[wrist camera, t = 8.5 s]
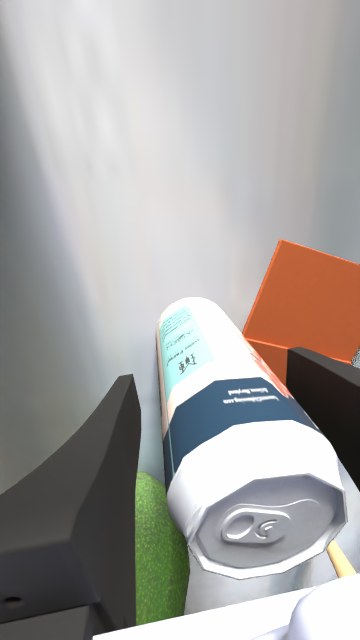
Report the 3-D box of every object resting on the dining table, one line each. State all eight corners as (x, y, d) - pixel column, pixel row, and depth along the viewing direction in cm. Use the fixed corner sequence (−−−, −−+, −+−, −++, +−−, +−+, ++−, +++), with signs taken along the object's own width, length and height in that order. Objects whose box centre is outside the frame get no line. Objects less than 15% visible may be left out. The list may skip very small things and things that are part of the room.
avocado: (73, 505, 22) (-3, 797, 11) (106, 439, 20) (53, 721, 9) (158, 521, 24) (167, 780, 13) (196, 463, 22) (247, 715, 11)
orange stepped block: (394, 276, 17) (404, 278, 17) (310, 423, 22) (315, 430, 21) (279, 239, 16) (285, 239, 15) (211, 408, 20) (213, 414, 19)
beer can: (211, 366, 18) (307, 590, 7) (147, 352, 17) (145, 587, 6) (236, 305, 17) (406, 472, 6) (167, 285, 16) (213, 441, 5)
